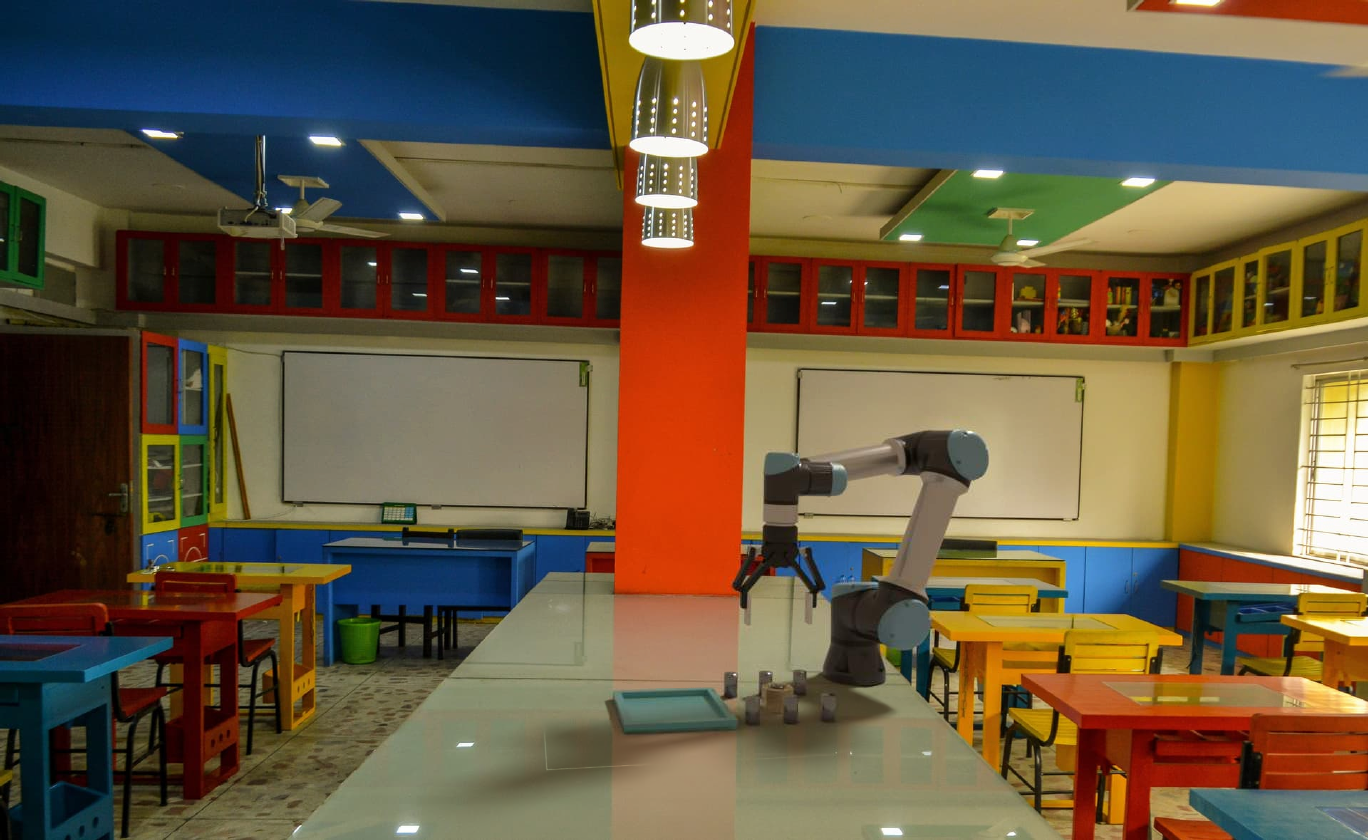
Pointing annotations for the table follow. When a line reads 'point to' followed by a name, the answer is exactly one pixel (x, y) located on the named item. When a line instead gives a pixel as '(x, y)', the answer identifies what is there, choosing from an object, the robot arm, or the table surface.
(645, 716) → the tray
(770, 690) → the nut
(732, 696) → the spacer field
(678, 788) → the table surface
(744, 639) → the table surface
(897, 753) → the table surface
